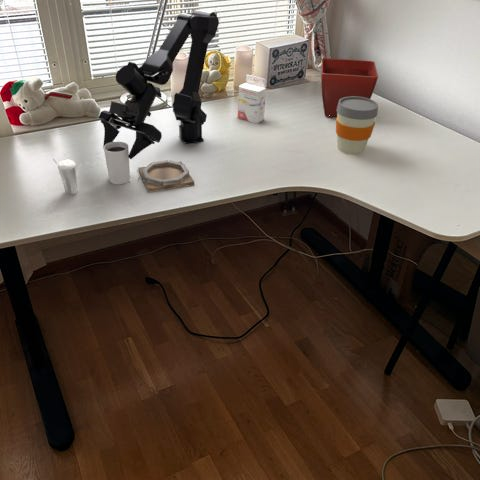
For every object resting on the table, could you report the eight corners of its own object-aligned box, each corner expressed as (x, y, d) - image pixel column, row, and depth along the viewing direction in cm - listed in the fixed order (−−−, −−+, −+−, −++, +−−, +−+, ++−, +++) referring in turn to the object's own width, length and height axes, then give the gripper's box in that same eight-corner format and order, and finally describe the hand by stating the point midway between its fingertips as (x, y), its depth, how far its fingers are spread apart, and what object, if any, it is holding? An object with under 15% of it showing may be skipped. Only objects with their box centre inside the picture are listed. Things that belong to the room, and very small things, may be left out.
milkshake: (61, 188, 142) (54, 154, 137) (81, 187, 143) (75, 154, 137) (58, 196, 139) (51, 162, 133) (78, 196, 139) (72, 162, 133)
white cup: (110, 186, 144) (106, 153, 138) (105, 175, 149) (101, 143, 143) (134, 182, 146) (131, 150, 140) (128, 172, 151) (125, 140, 145)
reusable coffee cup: (378, 148, 169) (386, 103, 160) (356, 160, 162) (365, 114, 153) (345, 136, 176) (352, 93, 167) (323, 147, 168) (329, 102, 160)
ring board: (181, 164, 156) (181, 157, 155) (194, 184, 146) (194, 177, 145) (138, 170, 152) (137, 163, 151) (148, 192, 142) (148, 184, 141)
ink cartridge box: (236, 118, 186) (238, 77, 178) (244, 114, 190) (245, 73, 181) (257, 124, 183) (259, 82, 174) (264, 119, 186) (267, 78, 178)
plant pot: (316, 101, 203) (322, 57, 193) (366, 105, 201) (374, 60, 191) (315, 120, 187) (321, 73, 177) (369, 124, 185) (378, 77, 176)
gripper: (98, 81, 141) (73, 132, 140) (152, 96, 133) (126, 151, 132) (121, 101, 151) (98, 149, 150) (172, 116, 143) (148, 167, 142)
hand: (116, 153), depth 143 cm, fingers open, 9 cm apart
